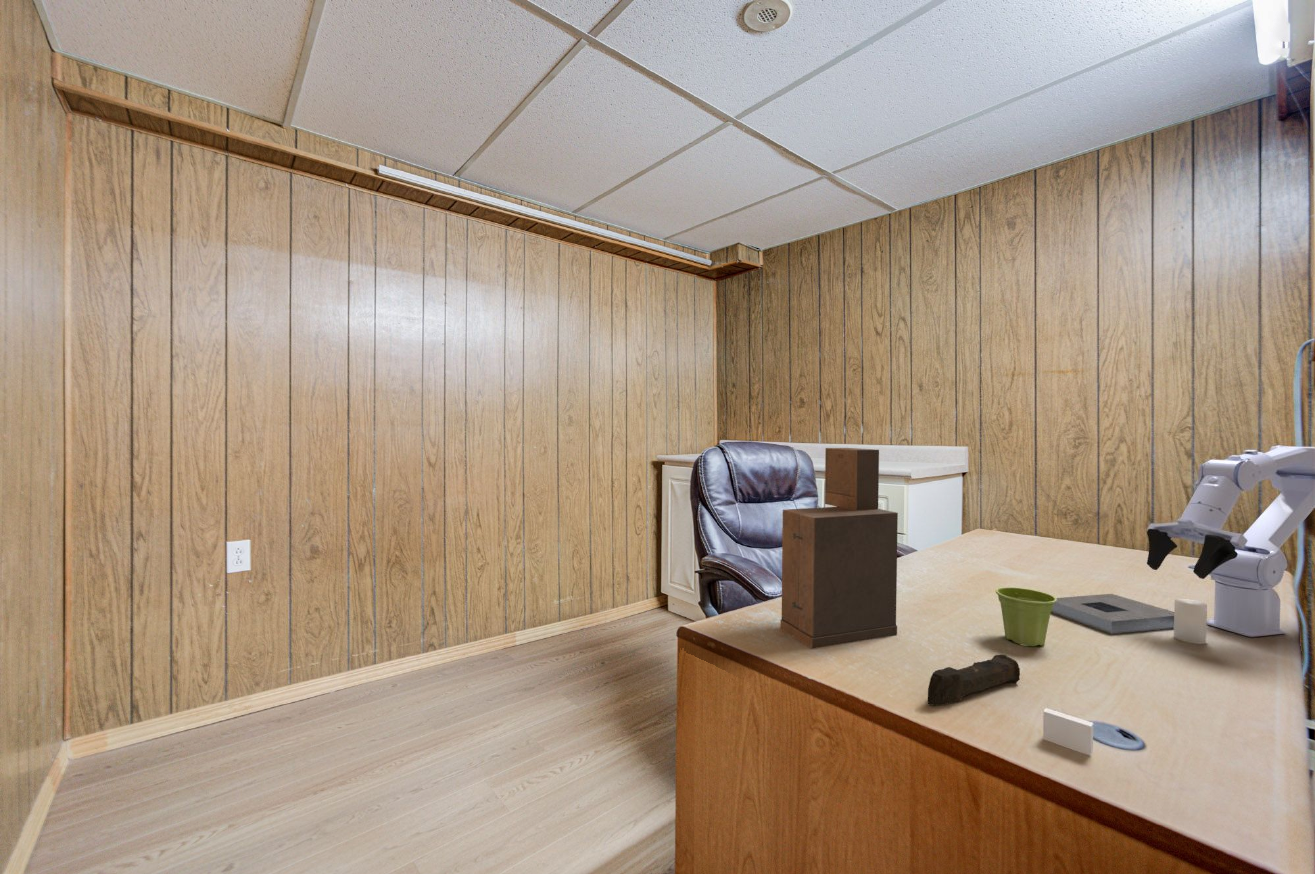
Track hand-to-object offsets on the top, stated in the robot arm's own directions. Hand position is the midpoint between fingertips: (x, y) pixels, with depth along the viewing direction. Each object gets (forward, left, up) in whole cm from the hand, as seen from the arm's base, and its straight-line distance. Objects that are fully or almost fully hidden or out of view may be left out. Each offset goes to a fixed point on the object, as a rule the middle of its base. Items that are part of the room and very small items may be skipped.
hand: (1174, 571), depth 103 cm
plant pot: (+28, -5, -13) cm, 31 cm away
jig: (0, -11, -13) cm, 17 cm away
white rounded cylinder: (-3, +1, -13) cm, 13 cm away
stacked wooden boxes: (+59, -17, -13) cm, 63 cm away
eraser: (+52, +24, -13) cm, 58 cm away
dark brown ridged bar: (+53, +10, -13) cm, 55 cm away
